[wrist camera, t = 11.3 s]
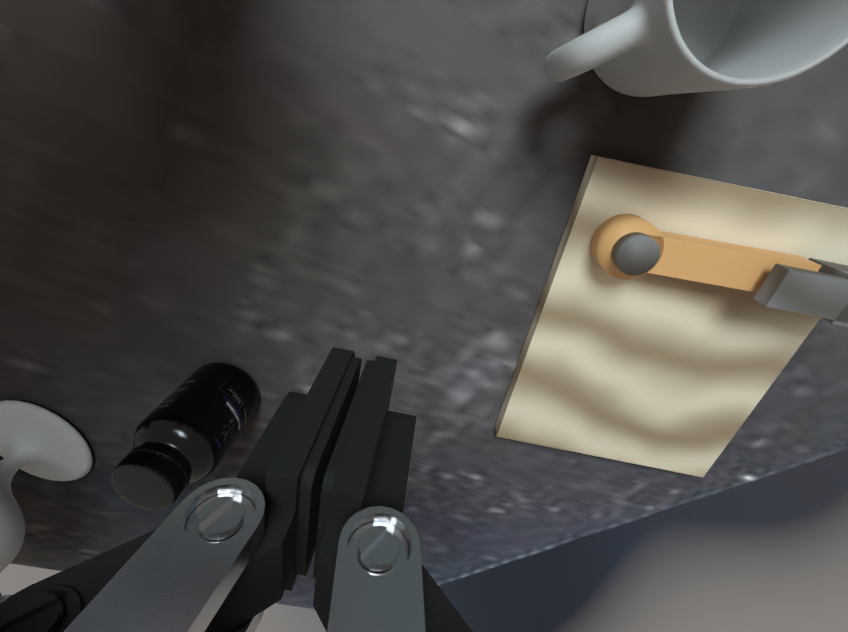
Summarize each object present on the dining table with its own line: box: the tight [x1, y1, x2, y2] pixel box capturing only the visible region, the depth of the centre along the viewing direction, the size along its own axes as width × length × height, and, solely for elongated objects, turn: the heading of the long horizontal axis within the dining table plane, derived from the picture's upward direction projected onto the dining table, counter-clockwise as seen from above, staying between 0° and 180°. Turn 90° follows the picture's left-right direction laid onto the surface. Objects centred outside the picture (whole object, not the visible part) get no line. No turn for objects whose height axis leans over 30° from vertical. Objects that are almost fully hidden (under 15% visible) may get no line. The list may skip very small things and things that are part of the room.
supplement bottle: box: [110, 363, 259, 510], centre depth 34 cm, size 7×7×12 cm
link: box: [591, 214, 822, 292], centre depth 27 cm, size 14×4×2 cm, turn 81°
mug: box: [544, 0, 848, 97], centre depth 19 cm, size 12×8×11 cm
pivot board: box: [495, 155, 848, 477], centre depth 31 cm, size 25×20×6 cm
